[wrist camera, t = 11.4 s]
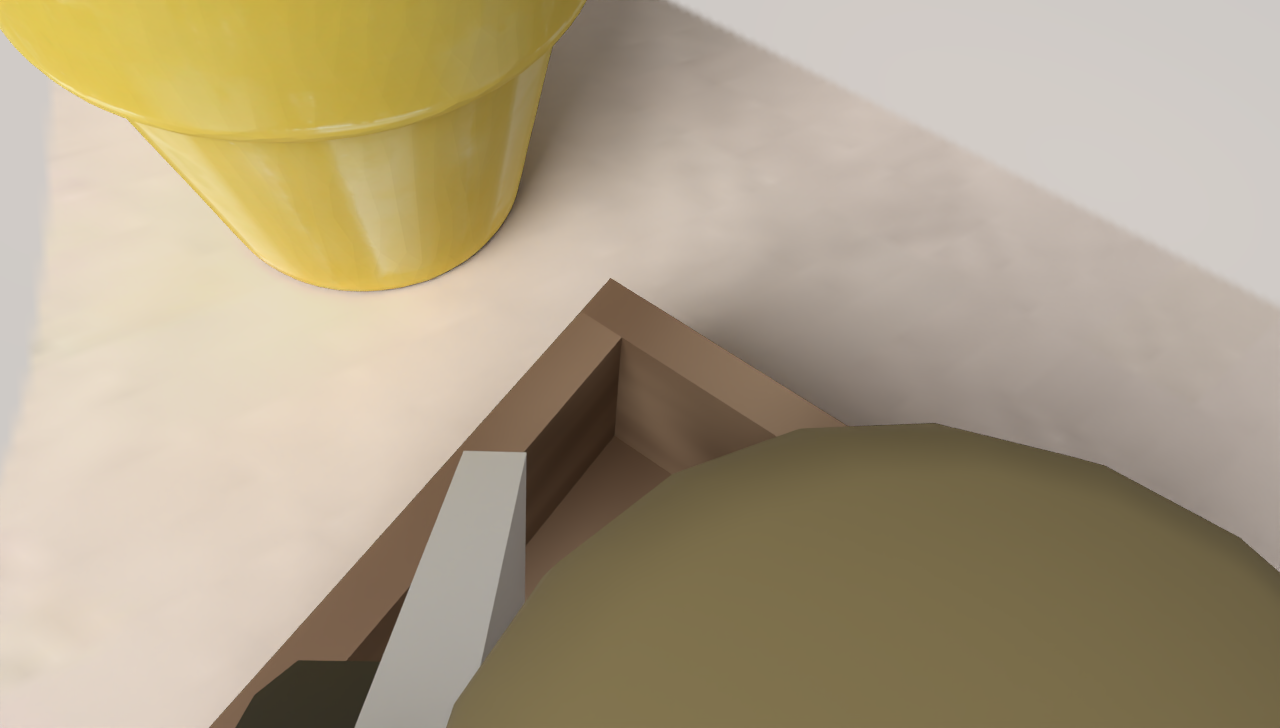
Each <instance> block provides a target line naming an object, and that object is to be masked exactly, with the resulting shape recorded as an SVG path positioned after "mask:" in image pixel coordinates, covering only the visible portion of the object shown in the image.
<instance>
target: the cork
mask: <svg viewBox="0 0 1280 728" xmlns="http://www.w3.org/2000/svg"><path fill="white" fill-rule="evenodd" d="M446 728H1280V572H1278V571H1277V570H1276V569H1275V568H1274V567H1273V566H1272V565H1270V564H1269V563H1268V562H1267V561H1266V560H1265V559H1264V558H1262V557H1261V556H1260V555H1259V554H1258V553H1257V552H1256V551H1254V550H1253V549H1252V548H1251V547H1250V546H1249V545H1248V544H1246V543H1245V542H1244V541H1243V540H1242V539H1241V538H1239V537H1237V536H1235V535H1234V534H1232V533H1230V532H1228V531H1226V530H1224V529H1222V528H1221V527H1219V526H1217V525H1215V524H1213V523H1211V522H1209V521H1207V520H1206V519H1204V518H1202V517H1200V516H1198V515H1196V514H1194V513H1192V512H1191V511H1189V510H1187V509H1185V508H1183V507H1181V506H1179V505H1177V504H1176V503H1174V502H1172V501H1170V500H1168V499H1166V498H1164V497H1162V496H1161V495H1159V494H1157V493H1155V492H1153V491H1151V490H1149V489H1148V488H1146V487H1144V486H1142V485H1140V484H1138V483H1136V482H1134V481H1133V480H1131V479H1129V478H1127V477H1125V476H1123V475H1121V474H1119V473H1118V472H1116V471H1114V470H1112V469H1110V468H1108V467H1106V466H1104V465H1100V464H1097V463H1093V462H1089V461H1086V460H1082V459H1078V458H1075V457H1071V456H1067V455H1063V454H1059V453H1055V452H1050V451H1046V450H1042V449H1038V448H1034V447H1030V446H1026V445H1022V444H1018V443H1014V442H1010V441H1006V440H1001V439H997V438H993V437H989V436H985V435H981V434H977V433H973V432H969V431H965V430H961V429H957V428H952V427H948V426H944V425H940V424H936V423H926V424H900V425H875V426H850V427H825V428H800V429H797V430H794V431H791V432H789V433H786V434H783V435H780V436H777V437H775V438H772V439H769V440H766V441H763V442H761V443H758V444H755V445H752V446H749V447H747V448H744V449H741V450H738V451H735V452H733V453H730V454H727V455H724V456H721V457H719V458H716V459H713V460H710V461H708V462H705V463H702V464H699V465H696V466H694V467H691V468H688V469H685V470H682V471H680V472H677V473H674V474H672V475H671V476H669V477H668V478H667V479H665V480H664V481H663V482H661V483H660V484H659V485H658V486H656V487H655V488H654V489H652V490H651V491H650V492H648V493H647V494H646V495H645V496H643V497H642V498H641V499H639V500H638V501H637V502H636V503H634V504H633V505H632V506H630V507H629V508H628V509H626V510H625V511H624V512H623V513H621V514H620V515H619V516H617V517H616V518H615V519H613V520H612V521H611V522H610V523H608V524H607V525H606V526H604V527H603V528H602V529H601V530H599V531H598V532H597V533H595V534H594V535H593V536H591V537H590V538H589V539H588V540H586V541H585V542H584V543H582V544H581V545H580V546H578V547H577V548H576V549H575V550H573V551H572V552H571V553H569V554H568V555H567V556H566V557H564V558H563V559H562V560H560V561H559V562H558V563H557V564H556V565H555V566H554V567H552V568H551V569H550V570H549V571H548V572H547V573H546V574H545V575H544V576H543V577H542V578H541V580H540V581H539V583H538V584H537V586H536V587H535V589H534V590H533V591H532V593H531V594H530V596H529V597H528V599H527V600H526V601H525V603H524V604H523V606H522V607H521V609H520V610H519V611H518V613H517V614H516V616H515V617H514V619H513V620H512V622H511V623H510V624H509V626H508V627H507V629H506V630H505V632H504V633H503V634H502V636H501V637H500V639H499V640H498V642H497V643H496V645H495V646H494V647H493V649H492V650H491V652H490V653H489V655H488V656H487V657H486V659H485V660H484V662H483V663H482V665H481V666H480V667H479V669H478V670H477V672H476V673H475V675H474V676H473V678H472V679H471V680H470V682H469V683H468V685H467V686H466V688H465V689H464V690H463V692H462V693H461V695H460V696H459V698H458V699H457V700H456V702H455V703H454V705H453V708H452V711H451V715H450V718H449V721H448V724H447V727H446Z"/></svg>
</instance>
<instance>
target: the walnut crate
mask: <svg viewBox="0 0 1280 728" xmlns="http://www.w3.org/2000/svg"><path fill="white" fill-rule="evenodd" d="M825 427H849V426H847V425H845V424H844V423H842V422H840V421H839V420H837V419H836V418H834V417H832V416H831V415H829V414H828V413H826V412H824V411H823V410H821V409H820V408H818V407H816V406H815V405H813V404H812V403H810V402H808V401H807V400H805V399H804V398H802V397H800V396H799V395H797V394H796V393H794V392H792V391H791V390H789V389H788V388H786V387H784V386H783V385H781V384H780V383H778V382H776V381H775V380H773V379H772V378H770V377H768V376H767V375H765V374H764V373H762V372H760V371H759V370H757V369H755V368H754V367H752V366H751V365H749V364H747V363H746V362H744V361H743V360H741V359H739V358H738V357H736V356H735V355H733V354H731V353H730V352H728V351H727V350H725V349H723V348H722V347H720V346H719V345H717V344H715V343H714V342H712V341H711V340H709V339H707V338H706V337H704V336H703V335H701V334H699V333H698V332H696V331H695V330H693V329H691V328H690V327H688V326H687V325H685V324H683V323H682V322H680V321H679V320H677V319H675V318H674V317H672V316H670V315H669V314H667V313H666V312H664V311H662V310H661V309H659V308H658V307H656V306H654V305H653V304H651V303H650V302H648V301H646V300H645V299H643V298H642V297H640V296H638V295H637V294H635V293H634V292H632V291H630V290H629V289H627V288H626V287H624V286H622V285H621V284H619V283H618V282H616V281H614V280H613V279H611V278H610V279H609V281H608V282H607V283H606V284H605V285H604V286H603V287H602V288H601V289H600V291H599V292H598V293H597V294H596V295H595V296H594V297H593V298H592V300H591V301H590V302H589V303H588V304H587V305H586V306H585V307H584V309H583V310H582V311H581V312H580V313H579V314H578V315H577V316H576V317H575V319H574V320H573V321H572V322H571V323H570V324H569V325H568V326H567V328H566V329H565V330H564V331H563V332H562V333H561V334H560V335H559V336H558V338H557V339H556V340H555V341H554V342H553V343H552V344H551V345H550V347H549V348H548V349H547V350H546V351H545V352H544V353H543V354H542V356H541V357H540V358H539V359H538V360H537V361H536V362H535V363H534V364H533V366H532V367H531V368H530V369H529V370H528V371H527V372H526V373H525V375H524V376H523V377H522V378H521V379H520V380H519V381H518V382H517V384H516V385H515V386H514V387H513V388H512V389H511V390H510V391H509V392H508V394H507V395H506V396H505V397H504V398H503V399H502V400H501V401H500V403H499V404H498V405H497V406H496V407H495V408H494V409H493V410H492V412H491V413H490V414H489V415H488V416H487V417H486V418H485V419H484V420H483V422H482V423H481V424H480V425H479V426H478V427H477V428H476V429H475V431H474V432H473V433H472V434H471V435H470V436H469V437H468V438H467V440H466V441H465V442H464V443H463V444H462V445H461V446H460V447H459V448H458V450H457V451H456V452H455V453H454V454H453V455H452V456H451V457H450V459H449V460H448V461H447V462H446V463H445V464H444V465H443V466H442V467H441V469H440V470H439V471H438V472H437V473H436V474H435V475H434V476H433V478H432V479H431V480H430V481H429V482H428V483H427V484H426V485H425V487H424V488H423V489H422V490H421V491H420V492H419V493H418V494H417V495H416V497H415V498H414V499H413V500H412V501H411V502H410V503H409V504H408V506H407V507H406V508H405V509H404V510H403V511H402V512H401V513H400V515H399V516H398V517H397V518H396V519H395V520H394V521H393V522H392V523H391V525H390V526H389V527H388V528H387V529H386V530H385V531H384V532H383V534H382V535H381V536H380V537H379V538H378V539H377V540H376V541H375V543H374V544H373V545H372V546H371V547H370V548H369V549H368V550H367V551H366V553H365V554H364V555H363V556H362V557H361V558H360V559H359V560H358V562H357V563H356V564H355V565H354V566H353V567H352V568H351V569H350V570H349V572H348V573H347V574H346V575H345V576H344V577H343V578H342V579H341V581H340V582H339V583H338V584H337V585H336V586H335V587H334V588H333V590H332V591H331V592H330V593H329V594H328V595H327V596H326V597H325V598H324V600H323V601H322V602H321V603H320V604H319V605H318V606H317V607H316V609H315V610H314V611H313V612H312V613H311V614H310V615H309V616H308V618H307V619H306V620H305V621H304V622H303V623H302V624H301V625H300V626H299V628H298V629H297V630H296V631H295V632H294V633H293V634H292V635H291V637H290V638H289V639H288V640H287V641H286V642H285V643H284V644H283V646H282V647H281V648H280V649H279V650H278V651H277V652H276V653H275V654H274V656H273V657H272V658H271V659H270V660H269V661H268V662H267V663H266V665H265V666H264V667H263V668H262V669H261V670H260V671H259V672H258V673H257V675H256V676H255V677H254V678H253V679H252V680H251V681H250V682H249V684H248V685H247V686H246V687H245V688H244V689H243V690H242V691H241V693H240V694H239V695H238V696H237V697H236V698H235V699H234V700H233V701H232V703H231V704H230V705H229V706H228V707H227V708H226V709H225V710H224V712H223V713H222V714H221V715H220V716H219V717H218V718H217V719H216V721H215V722H214V723H213V724H212V725H211V726H210V727H209V728H235V727H236V726H237V724H238V722H239V720H240V719H241V717H242V715H243V714H244V712H245V710H246V708H247V707H248V705H249V703H250V702H251V700H252V698H253V696H254V695H255V694H256V693H257V692H259V691H260V690H261V689H262V688H264V687H265V686H266V685H268V684H269V683H270V682H271V681H273V680H274V679H275V678H276V677H278V676H279V675H280V674H281V673H283V672H284V671H285V670H286V669H288V668H289V667H290V666H291V665H293V664H294V663H295V662H297V661H298V660H317V661H381V659H382V657H383V654H384V652H385V649H386V646H387V644H388V641H389V639H390V636H391V634H392V631H393V629H394V626H395V624H396V621H397V619H398V616H399V613H400V611H401V608H402V606H403V603H404V601H405V598H406V596H407V593H408V591H409V588H410V586H411V583H412V580H413V578H414V575H415V573H416V570H417V568H418V565H419V563H420V560H421V558H422V555H423V553H424V550H425V547H426V545H427V542H428V540H429V537H430V535H431V532H432V530H433V527H434V525H435V522H436V520H437V517H438V515H439V512H440V509H441V507H442V504H443V502H444V499H445V497H446V494H447V492H448V489H449V487H450V484H451V482H452V479H453V476H454V474H455V471H456V469H457V466H458V464H459V461H460V459H461V456H462V454H463V451H492V452H526V542H525V601H526V600H527V599H528V597H529V596H530V594H531V593H532V591H533V590H534V589H535V587H536V586H537V584H538V583H539V581H540V580H541V578H542V577H543V576H544V575H545V574H546V573H547V572H548V571H549V570H550V569H551V568H552V567H554V566H555V565H556V564H557V563H558V562H559V561H560V560H562V559H563V558H564V557H566V556H567V555H568V554H569V553H571V552H572V551H573V550H575V549H576V548H577V547H578V546H580V545H581V544H582V543H584V542H585V541H586V540H588V539H589V538H590V537H591V536H593V535H594V534H595V533H597V532H598V531H599V530H601V529H602V528H603V527H604V526H606V525H607V524H608V523H610V522H611V521H612V520H613V519H615V518H616V517H617V516H619V515H620V514H621V513H623V512H624V511H625V510H626V509H628V508H629V507H630V506H632V505H633V504H634V503H636V502H637V501H638V500H639V499H641V498H642V497H643V496H645V495H646V494H647V493H648V492H650V491H651V490H652V489H654V488H655V487H656V486H658V485H659V484H660V483H661V482H663V481H664V480H665V479H667V478H668V477H669V476H671V475H672V474H674V473H677V472H680V471H682V470H685V469H688V468H691V467H694V466H696V465H699V464H702V463H705V462H708V461H710V460H713V459H716V458H719V457H721V456H724V455H727V454H730V453H733V452H735V451H738V450H741V449H744V448H747V447H749V446H752V445H755V444H758V443H761V442H763V441H766V440H769V439H772V438H775V437H777V436H780V435H783V434H786V433H789V432H791V431H794V430H797V429H800V428H825Z"/></svg>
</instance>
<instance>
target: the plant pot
mask: <svg viewBox="0 0 1280 728" xmlns="http://www.w3.org/2000/svg"><path fill="white" fill-rule="evenodd" d="M586 1H587V0H0V29H1V30H2V32H3V33H4V34H5V36H6V37H7V38H8V39H9V41H10V42H11V43H12V44H13V45H14V47H15V48H16V49H17V50H18V51H19V52H20V53H21V54H22V55H23V56H24V57H25V58H26V59H27V60H28V61H29V62H30V63H31V64H33V65H34V66H35V67H37V68H38V69H39V70H40V71H41V72H43V73H44V74H45V75H46V76H48V77H49V78H50V79H51V80H53V81H54V82H56V83H57V84H59V85H60V86H62V87H63V88H65V89H66V90H68V91H70V92H71V93H73V94H75V95H76V96H78V97H80V98H81V99H83V100H85V101H87V102H88V103H91V104H93V105H95V106H97V107H99V108H101V109H103V110H106V111H108V112H111V113H113V114H116V115H118V116H121V117H123V118H126V119H127V120H128V121H129V122H130V123H131V124H132V125H133V126H134V127H135V128H136V129H137V130H138V131H139V132H140V134H141V135H142V136H143V137H144V138H145V139H146V140H147V141H148V142H149V143H150V144H151V145H152V146H153V147H154V148H155V149H156V151H157V152H158V153H159V154H160V155H161V156H162V157H163V158H164V159H165V160H166V161H167V162H168V163H169V164H170V165H171V166H172V167H173V168H174V170H175V171H176V172H177V173H178V174H179V175H180V176H181V177H182V178H183V179H184V180H185V181H186V182H187V183H188V184H189V185H190V186H191V187H192V189H193V190H194V191H195V192H196V193H197V194H198V195H199V196H200V197H201V198H202V199H203V200H204V201H205V202H206V204H207V205H208V206H209V207H210V208H211V209H212V210H213V211H214V212H215V213H216V214H217V215H218V217H219V218H220V219H221V220H222V221H223V222H224V223H225V224H226V225H227V226H228V227H229V228H230V230H231V231H232V232H233V233H234V234H235V235H236V236H237V237H238V238H239V239H240V240H241V241H242V242H243V243H244V244H245V245H246V246H247V247H248V248H249V249H250V250H251V251H252V252H253V253H254V254H255V255H256V256H257V257H259V258H260V259H261V260H262V261H263V262H265V263H266V264H268V265H269V266H271V267H273V268H274V269H276V270H278V271H280V272H281V273H283V274H286V275H288V276H290V277H292V278H294V279H297V280H299V281H302V282H304V283H308V284H311V285H315V286H318V287H324V288H329V289H335V290H344V291H377V290H387V289H394V288H401V287H405V286H409V285H413V284H417V283H420V282H424V281H428V280H430V279H433V278H435V277H437V276H439V275H441V274H443V273H445V272H447V271H449V270H451V269H453V268H454V267H456V266H458V265H459V264H461V263H463V262H464V261H466V260H467V259H469V258H470V257H471V256H472V255H474V254H475V253H476V252H477V251H478V250H480V249H481V248H482V247H483V246H484V245H485V244H486V243H487V242H488V241H489V240H490V238H491V237H492V236H493V235H494V234H495V233H496V232H497V231H498V229H499V228H500V226H501V225H502V223H503V222H504V220H505V219H506V217H507V216H508V214H509V212H510V210H511V208H512V206H513V203H514V200H515V198H516V195H517V191H518V187H519V183H520V179H521V175H522V171H523V167H524V162H525V158H526V153H527V149H528V144H529V140H530V136H531V133H532V129H533V125H534V121H535V117H536V113H537V108H538V104H539V100H540V95H541V91H542V87H543V83H544V79H545V75H546V70H547V66H548V62H549V58H550V55H551V51H552V47H553V45H554V44H555V43H556V42H557V41H558V40H559V39H560V37H561V36H562V35H563V34H564V33H565V32H566V30H567V29H568V28H569V27H570V26H571V24H572V23H573V21H574V20H575V19H576V17H577V16H578V14H579V13H580V11H581V9H582V8H583V6H584V4H585V2H586Z"/></svg>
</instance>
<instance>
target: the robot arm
mask: <svg viewBox="0 0 1280 728" xmlns="http://www.w3.org/2000/svg"><path fill="white" fill-rule="evenodd" d="M525 542H526V452H492V451H463V454H462V456H461V459H460V461H459V464H458V466H457V469H456V471H455V474H454V476H453V479H452V482H451V484H450V487H449V489H448V492H447V494H446V497H445V499H444V502H443V504H442V507H441V509H440V512H439V515H438V517H437V520H436V522H435V525H434V527H433V530H432V532H431V535H430V537H429V540H428V542H427V545H426V547H425V550H424V553H423V555H422V558H421V560H420V563H419V565H418V568H417V570H416V573H415V575H414V578H413V580H412V583H411V586H410V588H409V591H408V593H407V596H406V598H405V601H404V603H403V606H402V608H401V611H400V613H399V616H398V619H397V621H396V624H395V626H394V629H393V631H392V634H391V636H390V639H389V641H388V644H387V646H386V649H385V652H384V654H383V657H382V659H381V661H317V660H298V661H297V662H295V663H294V664H293V665H291V666H290V667H289V668H288V669H286V670H285V671H284V672H283V673H281V674H280V675H279V676H278V677H276V678H275V679H274V680H273V681H271V682H270V683H269V684H268V685H266V686H265V687H264V688H262V689H261V690H260V691H259V692H257V693H256V694H255V695H254V696H253V698H252V700H251V702H250V703H249V705H248V707H247V708H246V710H245V712H244V714H243V715H242V717H241V719H240V720H239V722H238V724H237V726H236V727H235V728H446V727H447V724H448V721H449V718H450V715H451V711H452V708H453V705H454V703H455V702H456V700H457V699H458V698H459V696H460V695H461V693H462V692H463V690H464V689H465V688H466V686H467V685H468V683H469V682H470V680H471V679H472V678H473V676H474V675H475V673H476V672H477V670H478V669H479V667H480V666H481V665H482V663H483V662H484V660H485V659H486V657H487V656H488V655H489V653H490V652H491V650H492V649H493V647H494V646H495V645H496V643H497V642H498V640H499V639H500V637H501V636H502V634H503V633H504V632H505V630H506V629H507V627H508V626H509V624H510V623H511V622H512V620H513V619H514V617H515V616H516V614H517V613H518V611H519V610H520V609H521V607H522V606H523V604H524V603H525Z"/></svg>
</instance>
